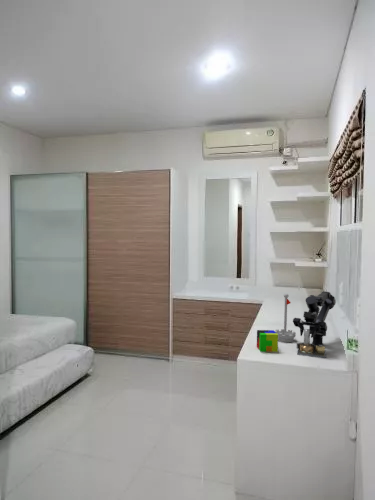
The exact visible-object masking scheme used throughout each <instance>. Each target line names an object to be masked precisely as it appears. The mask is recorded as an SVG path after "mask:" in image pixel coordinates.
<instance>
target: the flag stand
mask: <svg viewBox="0 0 375 500" xmlns="http://www.w3.org/2000/svg"><path fill="white" fill-rule="evenodd" d="M283 297H284V314H283V315H284V316H283V317H284V318H283V324H284V326H283V328H281V329H275V330H274V331H275V332H276V333H277V334H278V342H281V343H292V342H294V340H295V339H294V338H295V337H296V335H297V334H296V331H294V330H291V329H288V330H287V326H288V323H287V322H288V305H289V304H291V303H292V302H291V301H290V300H289V298H288V297H289V294H288V293H284V294H283Z"/></svg>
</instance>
